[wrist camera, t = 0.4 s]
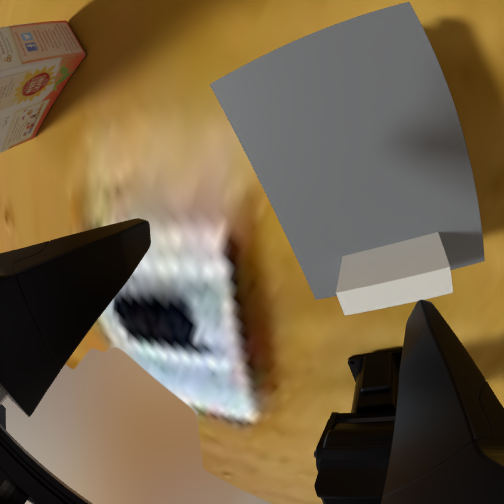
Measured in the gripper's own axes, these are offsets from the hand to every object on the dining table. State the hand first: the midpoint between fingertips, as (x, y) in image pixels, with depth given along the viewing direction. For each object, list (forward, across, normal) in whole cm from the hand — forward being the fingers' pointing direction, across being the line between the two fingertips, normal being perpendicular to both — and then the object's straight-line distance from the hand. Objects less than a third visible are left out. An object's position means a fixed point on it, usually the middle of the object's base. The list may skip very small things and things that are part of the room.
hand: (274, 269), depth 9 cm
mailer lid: (+11, -2, -1) cm, 11 cm away
